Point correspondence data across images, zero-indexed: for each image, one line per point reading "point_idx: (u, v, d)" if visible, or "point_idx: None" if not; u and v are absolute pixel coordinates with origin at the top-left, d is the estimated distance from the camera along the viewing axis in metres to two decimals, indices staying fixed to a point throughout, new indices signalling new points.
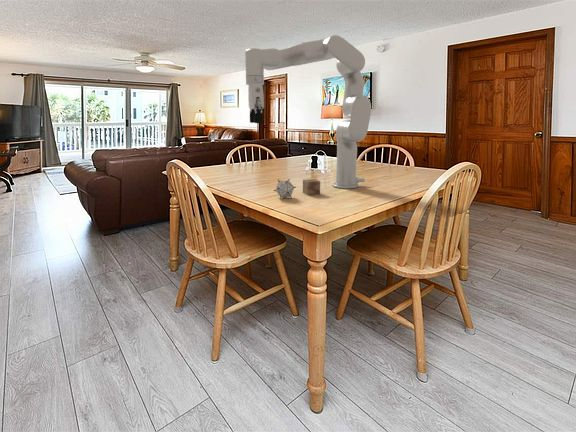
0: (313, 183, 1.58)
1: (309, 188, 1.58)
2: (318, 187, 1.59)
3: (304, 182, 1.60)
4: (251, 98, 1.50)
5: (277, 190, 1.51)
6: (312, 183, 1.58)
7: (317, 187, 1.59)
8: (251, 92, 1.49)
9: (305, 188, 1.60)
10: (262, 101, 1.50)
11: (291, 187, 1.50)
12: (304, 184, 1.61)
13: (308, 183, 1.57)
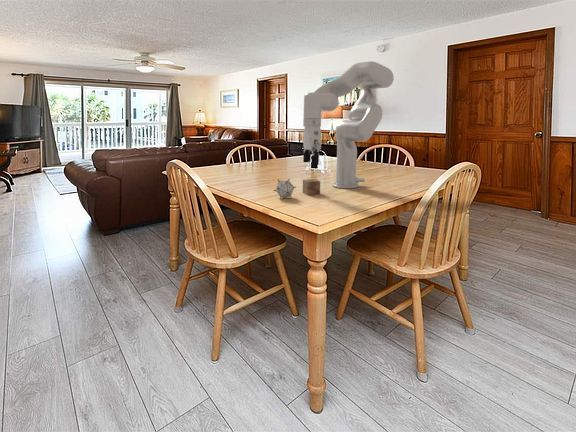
0: (313, 183, 1.58)
1: (309, 188, 1.58)
2: (318, 187, 1.59)
3: (304, 182, 1.60)
4: (308, 140, 1.52)
5: (277, 190, 1.51)
6: (312, 183, 1.58)
7: (317, 187, 1.59)
8: (309, 134, 1.51)
9: (305, 188, 1.60)
10: (319, 143, 1.52)
11: (291, 187, 1.50)
12: (304, 184, 1.61)
13: (308, 183, 1.57)
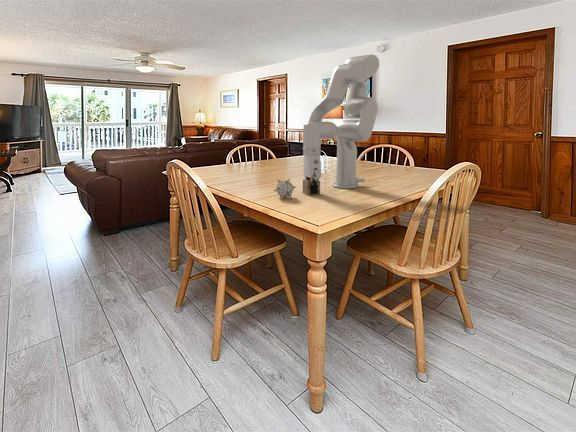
0: None
1: (309, 187, 1.58)
2: (318, 187, 1.59)
3: (304, 182, 1.60)
4: (309, 169, 1.56)
5: (277, 190, 1.51)
6: None
7: None
8: (309, 163, 1.55)
9: (305, 187, 1.60)
10: (319, 172, 1.55)
11: (291, 187, 1.50)
12: (304, 184, 1.61)
13: (308, 183, 1.57)
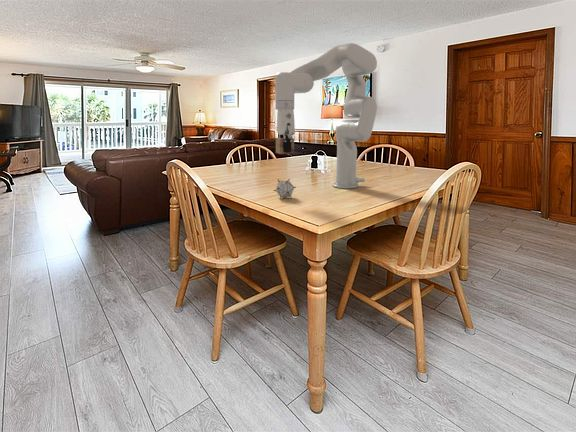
0: None
1: (282, 145, 1.44)
2: (292, 145, 1.45)
3: (277, 140, 1.47)
4: (281, 124, 1.42)
5: (277, 190, 1.51)
6: None
7: None
8: (281, 118, 1.41)
9: (278, 146, 1.46)
10: (293, 127, 1.41)
11: (291, 187, 1.50)
12: (277, 142, 1.47)
13: (280, 140, 1.43)
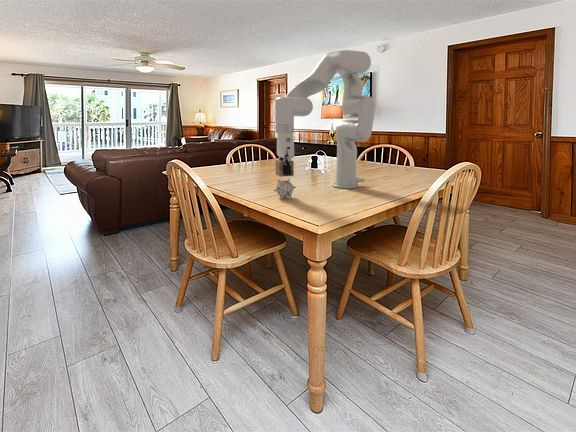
0: None
1: (281, 168, 1.46)
2: (291, 168, 1.48)
3: (277, 162, 1.49)
4: (281, 148, 1.44)
5: (277, 190, 1.51)
6: None
7: None
8: (281, 142, 1.43)
9: (278, 168, 1.48)
10: (292, 151, 1.44)
11: (291, 187, 1.50)
12: (277, 165, 1.49)
13: (280, 163, 1.46)
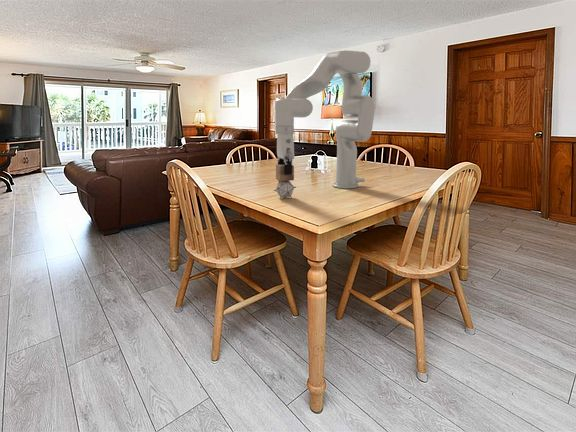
0: None
1: (282, 173, 1.47)
2: (292, 172, 1.48)
3: (277, 167, 1.50)
4: (281, 149, 1.44)
5: (277, 190, 1.51)
6: None
7: None
8: (281, 143, 1.44)
9: (278, 173, 1.49)
10: (292, 152, 1.44)
11: (291, 187, 1.50)
12: (277, 169, 1.50)
13: (280, 168, 1.46)
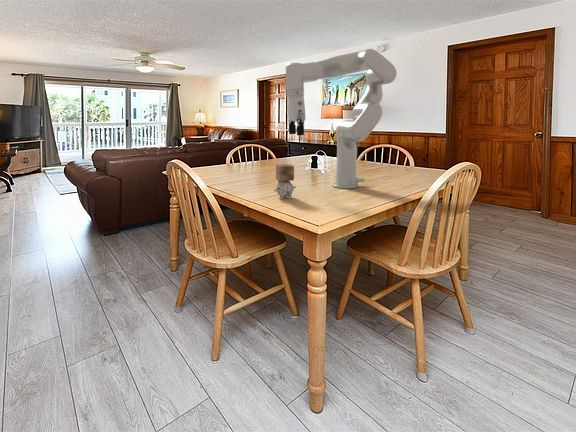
0: (286, 168, 1.47)
1: (282, 173, 1.47)
2: (292, 172, 1.48)
3: (277, 167, 1.50)
4: (293, 111, 1.54)
5: (277, 190, 1.51)
6: (285, 168, 1.47)
7: (290, 172, 1.48)
8: (293, 105, 1.53)
9: (278, 173, 1.49)
10: (304, 114, 1.54)
11: (291, 187, 1.50)
12: (277, 169, 1.50)
13: (281, 168, 1.46)
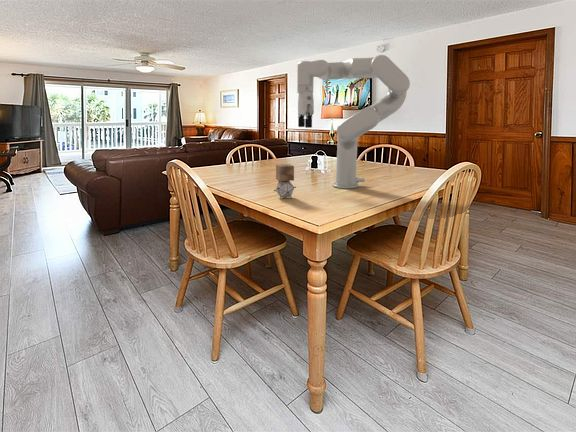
0: (286, 168, 1.47)
1: (282, 173, 1.47)
2: (292, 172, 1.48)
3: (277, 167, 1.50)
4: (302, 105, 1.68)
5: (277, 190, 1.51)
6: (285, 168, 1.47)
7: (290, 172, 1.48)
8: (302, 100, 1.67)
9: (278, 173, 1.49)
10: (312, 108, 1.67)
11: (291, 187, 1.50)
12: (277, 169, 1.50)
13: (281, 168, 1.46)
